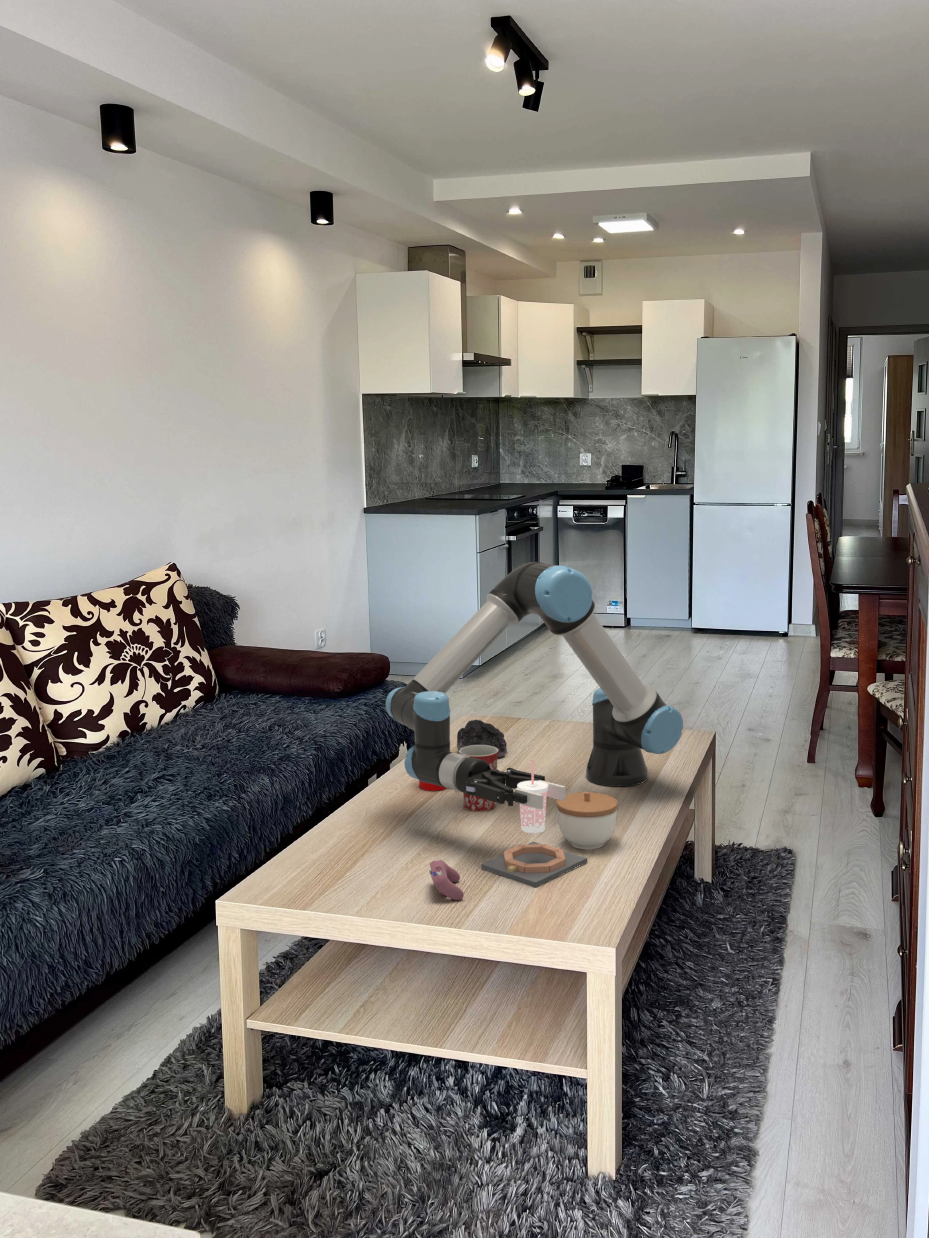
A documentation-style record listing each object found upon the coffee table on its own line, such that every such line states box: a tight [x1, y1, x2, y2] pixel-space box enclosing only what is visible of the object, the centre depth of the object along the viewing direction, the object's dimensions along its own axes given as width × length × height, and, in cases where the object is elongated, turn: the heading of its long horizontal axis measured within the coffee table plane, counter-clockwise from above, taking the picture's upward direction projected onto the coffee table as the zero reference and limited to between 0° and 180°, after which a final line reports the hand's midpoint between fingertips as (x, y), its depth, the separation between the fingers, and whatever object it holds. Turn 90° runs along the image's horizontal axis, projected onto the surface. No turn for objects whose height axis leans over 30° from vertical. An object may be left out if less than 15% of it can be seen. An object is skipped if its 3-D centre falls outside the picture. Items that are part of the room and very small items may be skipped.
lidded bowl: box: [556, 791, 619, 850], centre depth 226 cm, size 13×13×11 cm
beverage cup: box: [517, 759, 548, 834], centre depth 213 cm, size 6×6×14 cm
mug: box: [458, 745, 499, 812], centre depth 252 cm, size 13×9×14 cm
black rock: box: [456, 719, 508, 758], centre depth 292 cm, size 13×14×10 cm
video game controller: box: [428, 858, 465, 901], centre depth 204 cm, size 10×5×7 cm, turn 5°
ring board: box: [480, 841, 588, 888], centre depth 215 cm, size 16×14×2 cm
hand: (553, 797), depth 209 cm, fingers closed on beverage cup, 6 cm apart
